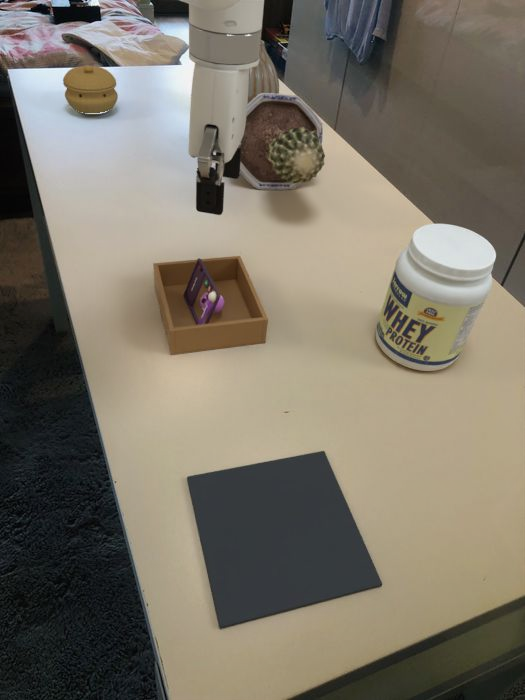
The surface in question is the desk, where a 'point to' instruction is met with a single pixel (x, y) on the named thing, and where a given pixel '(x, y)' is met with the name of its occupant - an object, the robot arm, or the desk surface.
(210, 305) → the purple toy figure
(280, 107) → the potted plant
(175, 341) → the box
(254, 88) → the vase
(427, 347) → the supplement tub
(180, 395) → the desk surface
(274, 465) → the mat
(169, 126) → the desk surface
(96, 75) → the pot
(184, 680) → the desk surface
